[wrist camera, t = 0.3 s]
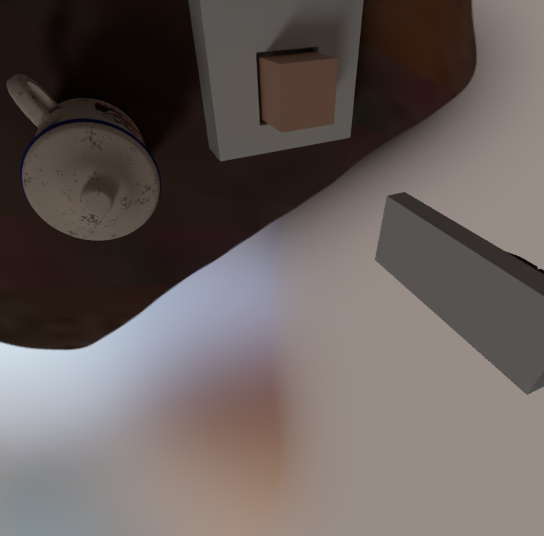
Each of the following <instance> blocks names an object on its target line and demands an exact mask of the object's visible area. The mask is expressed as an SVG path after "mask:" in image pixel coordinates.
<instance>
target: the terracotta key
mask: <svg viewBox="0 0 544 536" xmlns="http://www.w3.org/2000/svg"><path fill="white" fill-rule="evenodd" d="M259 66H260V86H261V106H262V120H264V121H265V122H266V123H268V124H269V125H271V126H272V127H274V128H275V129H277V130H278V131H280V132H281V133H283V132H289V131H295V130H301V129H307V128H313V127H319V126H324V125H330V124H334V116H335V102H336V87H337V72H338V58H337V57H332V56H328V55H324V54H320V53H315V52H305V53H295V54H285V55H276V56H266V57H259Z"/></svg>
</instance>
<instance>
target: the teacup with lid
mask: <svg viewBox="0 0 544 536" xmlns="http://www.w3.org/2000/svg"><path fill="white" fill-rule="evenodd" d="M7 89H8V91H9V93H10V95H11V97H12V98H13V100H14V101H15V102H16V104H17V105H18V106H19V108H20V109H21V110H22V111H23V112H24V113H25V115H26V116H27V117H28V118H29V119H30V120H31V121H32V122H33V123H34V124H35V125H36V126H37V127H38V130H37V133H36V136H35V138H34V139H33V140H32V141H31V142H30V144H29V145H28V147H27V148H26V150H25V153H24V155H23V158H22V162H21V169H20V176H21V183H22V188H23V191H24V193H25V196H26V198H27V200H28V201H29V203H30V205H31V206H32V207H33V209H34V210H35V211H36V212H37V214H38V215H39V216H40V217H41V218H42V219H43V220H44V221H46V222H47V223H48V224H49V225H51V226H52V227H54V228H55V229H57V230H59V231H61V232H63V233H65V234H68V235H71V236H73V237H77V238H81V239H87V240H109V239H115V238H119V237H122V236H125V235H127V234H129V233H131V232H133V231H135V230H136V229H138V228H139V227H141V226H142V225H143V224H144V223H145V222H146V221H147V220H148V219H149V217H150V216H151V215H152V213H153V212H154V210H155V208H156V206H157V204H158V201H159V197H160V192H161V179H160V173H159V170H158V167H157V164H156V162H155V160H154V158H153V156H152V154H151V153H150V152H149V150H148V149H147V148H146V146H145V143H144V141H143V138H142V136H141V133H140V131H139V130H138V128H137V126H136V125H135V124H134V122H133V121H132V120H131V119H130V118H129V117H128V116H127V115H126V114H125V113H124V112H123V111H121V110H120V109H118V108H117V107H115V106H113V105H111V104H109V103H107V102H104V101H101V100H97V99H93V98H74V99H70V100H66V101H64V102H61V103H59V104H57V103H56V102H55V101H54V100H53V99H52V98H51V96H50V95H49V94H48V93H47V92H46V91H45V90H44V89H43V88H42V87H41V86H40V85H38V84H37V83H36V82H35V81H34V80H32V79H31V78H29V77H27V76H25V75H23V74H16V75H14V76H13V77H11V78H10V79H9V80H8V81H7Z"/></svg>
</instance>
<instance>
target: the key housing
mask: <svg viewBox="0 0 544 536" xmlns="http://www.w3.org/2000/svg"><path fill="white" fill-rule="evenodd" d="M188 2H189V9H190V16H191V23H192V30H193V37H194V44H195V51H196V58H197V65H198V72H199V79H200V86H201V93H202V100H203V107H204V114H205V121H206V128H207V135H208V142H209V148H210V149H211V151H212V152H213V153H214V154H215V155H216V157H217V158H218V159H219V160H220V161H225V160H230V159H235V158H241V157H246V156H252V155H257V154H263V153H268V152H274V151H279V150H285V149H290V148H296V147H301V146H307V145H312V144H317V143H323V142H328V141H334V140H339V139H345V138H350V134H351V124H352V113H353V103H354V93H355V82H356V72H357V61H358V51H359V41H360V30H361V20H362V10H363V0H188ZM305 52H315V53H320V54H324V55H328V56H332V57H337V58H338V72H337V87H336V102H335V116H334V124H330V125H324V126H319V127H313V128H307V129H301V130H295V131H289V132H283V133H281V132H280V131H278V130H277V129H275V128H274V127H272V126H271V125H269V124H268V123H266V122H265V121H264V120H262V106H261V86H260V66H259V57H266V56H276V55H285V54H295V53H305Z"/></svg>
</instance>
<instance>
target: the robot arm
mask: <svg viewBox="0 0 544 536" xmlns="http://www.w3.org/2000/svg"><path fill="white" fill-rule="evenodd" d="M375 260H376V261H377V262H378V263H380V265H381V266H383V267H384V268H385V269H386V270H387V271H388V272H389V273H390V274H392V275H393V276H394V277H395V278H396V279H397V280H398V281H399V282H401V283H402V284H403V285H404V286H405V287H406V288H407V289H409V290H410V291H411V292H412V293H413V294H414V295H415V296H417V298H419V299H420V300H421V301H422V302H423V303H424V304H425V305H427V306H428V307H429V308H430V309H431V310H432V311H433V312H434V313H435V314H437V315H438V316H439V317H440V318H441V319H442V320H443V321H445V322H446V323H447V324H448V325H449V326H450V327H451V328H452V329H453V330H455V331H456V332H457V333H458V334H459V335H460V336H461V337H463V338H464V339H465V340H466V341H467V342H468V343H469V344H471V345H472V346H473V347H474V348H475V349H476V350H477V351H478V352H480V353H481V354H482V355H483V356H484V357H485V358H486V359H487V360H488V361H490V362H491V363H492V364H493V365H494V366H495V367H496V368H497V369H499V370H500V371H501V372H502V373H503V374H504V375H505V376H506V377H508V378H509V379H510V380H511V381H512V382H513V383H514V384H516V385H517V386H518V387H519V388H520V389H521V390H522V391H523V392H524V393H526V394H530V393H532V392H533V391H536V390H538V389H540V388H542V387H544V270H542V269H538V268H537V266H535V265H533V264H532V263H530V262H528V261H527V260H525V259H523V258H521V257H519V256H517V255H514V254H511V253H508V252H505V251H503V250H502V249H500V248H498V247H496V246H495V245H493V244H491V243H490V242H488V241H487V240H485V239H483V238H481V237H480V236H478V235H476V234H475V233H473V232H471V231H470V230H468V229H466V228H465V227H463V226H461V225H459V224H458V223H456V222H454V221H453V220H451V219H449V218H448V217H446V216H444V215H442V214H441V213H439V212H437V211H436V210H434V209H432V208H431V207H429V206H427V205H426V204H424V203H422V202H421V201H419V200H417V199H415V198H414V197H412V196H410V195H408V194H407V193H405V192H403V193H398V194H394V195H389V196H387V198H386V204H385V209H384V214H383V220H382V225H381V231H380V236H379V242H378V246H377V252H376V257H375Z"/></svg>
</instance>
